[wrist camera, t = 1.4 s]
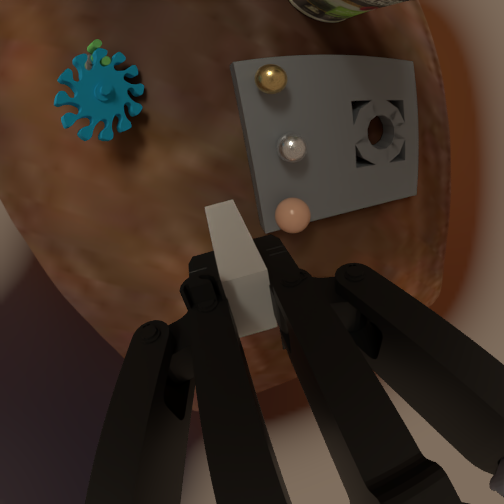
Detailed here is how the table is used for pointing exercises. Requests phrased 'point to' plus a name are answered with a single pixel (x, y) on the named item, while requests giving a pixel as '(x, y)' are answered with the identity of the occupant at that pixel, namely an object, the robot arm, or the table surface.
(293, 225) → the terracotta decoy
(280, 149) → the steel ball
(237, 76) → the plate
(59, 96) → the gear
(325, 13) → the coffee can
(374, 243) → the table surface
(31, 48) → the table surface
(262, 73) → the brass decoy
